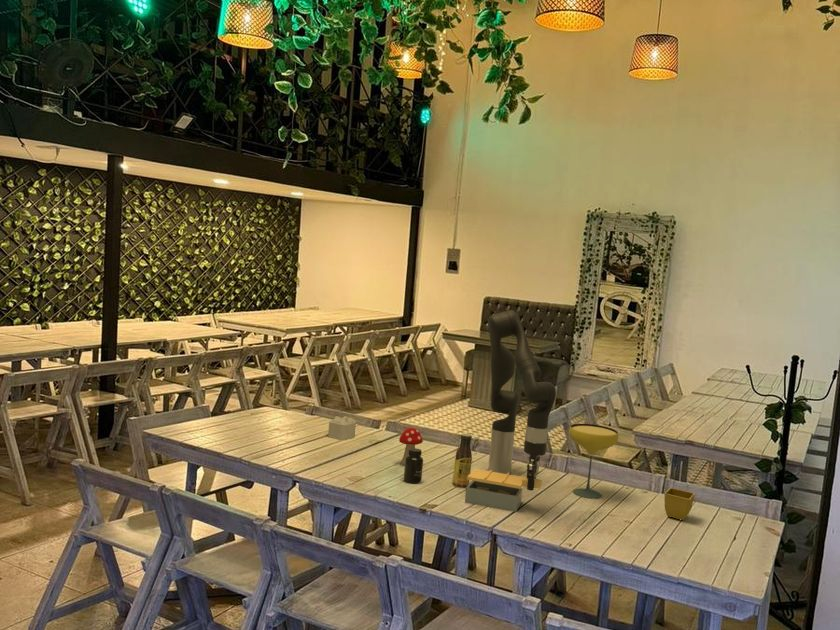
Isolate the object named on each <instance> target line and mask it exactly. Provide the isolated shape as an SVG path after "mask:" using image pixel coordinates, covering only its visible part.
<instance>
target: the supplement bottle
mask: <svg viewBox="0 0 840 630" xmlns="http://www.w3.org/2000/svg"><path fill="white" fill-rule="evenodd" d="M408 454H409V455H408V456H407V457H406V459H405V466H404V468H403V469H404V470H403V471H404V472H403V481H404V482H405V481H406V483H409V484H419V483H421V482H422V477H423V466H424V459H423V457H422V449H420V448H416V447H415V448H411V449H409V453H408Z"/></svg>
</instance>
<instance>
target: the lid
mask: <svg viewBox="0 0 840 630" xmlns="http://www.w3.org/2000/svg"><path fill="white" fill-rule="evenodd" d="M467 480H469V481H472V480H473V481H479V482H484V483H490V484H496V485H502V486H507V487H513V488H519V489H521V488H522V487H526V488H527V483H528V479H527V476H519V475H515V474H510V473H507V474H502V473H497V472H492V470H490V471H489V470H484V469H479V468H474V469H473V470H472V471H470V474H469V475H468V477H467ZM542 482H543V479H539V478H536V479H535V481H534V489H538V490H540V489H541V488H542V485H543V484H542Z"/></svg>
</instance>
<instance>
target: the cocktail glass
mask: <svg viewBox="0 0 840 630" xmlns="http://www.w3.org/2000/svg"><path fill="white" fill-rule="evenodd" d="M568 435H569V437H570V438H571V440H572V441H573V442H574V443H575V444H577V445H578V446H580V447H581V448H583V449H584V450H585V451H586V453H587V454H588V455H589V457H590V458H589V467H588V473H587V474H588V475H587V482H586V487H585V488H582V487H581V488H575V489H573V490H572V493H573V494H574V495H575V496H577V497H581V498H584V499H585V498H586V499H592V498H596V499H599V498H602V496H603V494H602V493H600V492H599V491H597V490H594V489H591V488H590V487H591V486H590V483H591V482H590V481H591V471H592V470H591V469H592V461H593V457H594V456H595V455H596V454H597V453H598V452H599V451H603V450H606V449H610V448H611V447H613V446H616V444H617V443H618V440H619V432H618V431H617V430H616V429H614V428H611V427H608V426H604V425H599V424H593V423H592V424H591V423H575V424H574V423H573V424H572V425H570V427H569V432H568Z"/></svg>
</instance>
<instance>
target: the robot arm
mask: <svg viewBox="0 0 840 630" xmlns="http://www.w3.org/2000/svg"><path fill="white" fill-rule="evenodd" d="M488 333H489V334H488V335H489V342H490V373H491V394H490V407H491V410H492V411H493V412H495V413H499V414H505V415H507V416H506V417H503V418H501V419H496V420H494V421H493V422H492V426H491V434H490V436H491V437H490V444H489V445H490V446H489V457H488V469H487V471H490V470H492V472H497V473H502V474H507V473H509V474H511V473H512V465H513V464H512V463H513V454H514V453H513V452H514V441H515V430H516V421H517V420H516V419H517V412H518V406H519V394H518V392H517V391H513V390H512V391H511V390H504V389H502V387H504V386H505V385H506V384H507V383H508V382H509V381H510V380H511V379H512V378H513V377H514V375H515V372H516V370H517V371H518V373H519V375H520V376H521V380H522V386H523V393H524V395H525V398H526V399H527V400H528V401H529V402H530V403H533V404H537V406H535V407H534V408H533V407H532V408H530V409H529V410H528V412H527V420H526V421H527V422H526V427H525V428H526V429H525V433H524V434H525V435H524V443H523V452H524V453H525V454H527V455H529V456H528V458H527V459H526V460H527V461H526V477H527V479H528V483H527V487H526V490H528V491H534V489H535V488H534V481H535V479H537V477H538V473H539V469H540V463H541V456H545V455H546V454H547V447H548V446H547V445H548V444H547V443H548V434H549V433H548V428H549V427H548V426H549V417H550V414H551V412H552V409H553V406H554V403H555V401H556V396H557V389H556V387H555V385H554V384H553V383H552V382H550V381H538V380H539V379H540V377H541V376H542V371H541V369H540V366H539V364H538V362H537V360H536V359H535V357H534V355H533V352H532V350H531V348H530V345H529V341H528V338H527V336H526V333H525V330H524V327H523V325H522V322H521V319H520V317H519V315H518V314H517V312H516V311H515V310H514V309H513V310H511V309H510V310H505V311H501V312H497V313H494V314H492V315H490V316H489V317H488ZM512 336H515V338H516V348H515V353H514V354H513V353H512V351H510V350H509V348H507V347H506V346H505V345H504V344H503V343H502V339H504V338H509V337H512ZM510 472H511V473H510Z"/></svg>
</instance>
